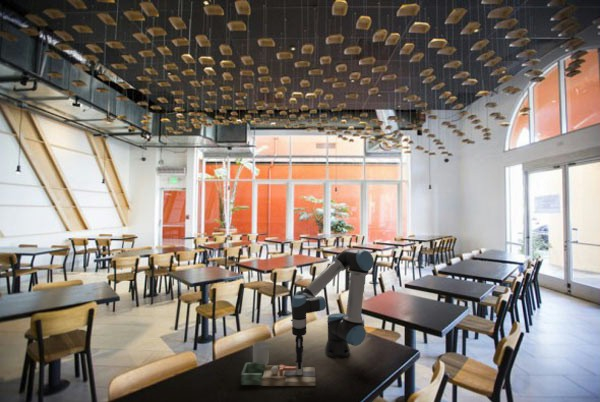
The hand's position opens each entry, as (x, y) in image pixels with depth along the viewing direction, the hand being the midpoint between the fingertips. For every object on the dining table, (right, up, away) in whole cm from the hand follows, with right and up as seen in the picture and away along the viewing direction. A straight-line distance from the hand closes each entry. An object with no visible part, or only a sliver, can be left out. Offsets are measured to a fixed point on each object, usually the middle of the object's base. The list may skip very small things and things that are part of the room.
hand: (299, 371), depth 152 cm
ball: (-13, +1, 0) cm, 13 cm away
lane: (-11, -3, 0) cm, 11 cm away
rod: (-4, -1, 0) cm, 4 cm away
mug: (-23, -5, +16) cm, 28 cm away
